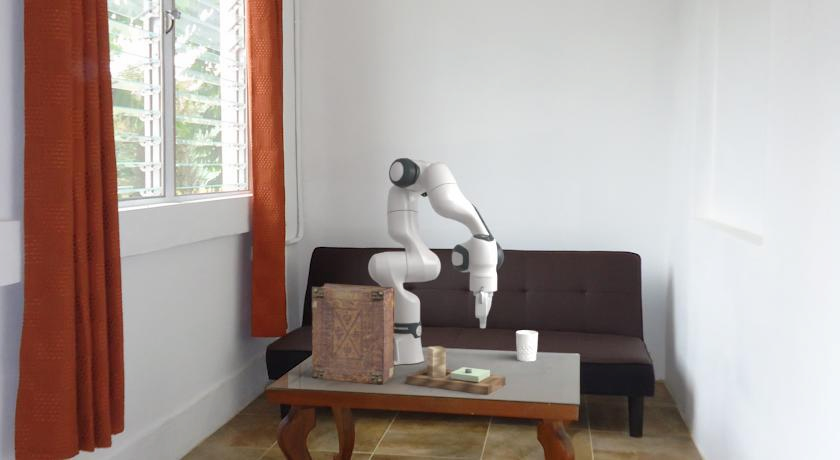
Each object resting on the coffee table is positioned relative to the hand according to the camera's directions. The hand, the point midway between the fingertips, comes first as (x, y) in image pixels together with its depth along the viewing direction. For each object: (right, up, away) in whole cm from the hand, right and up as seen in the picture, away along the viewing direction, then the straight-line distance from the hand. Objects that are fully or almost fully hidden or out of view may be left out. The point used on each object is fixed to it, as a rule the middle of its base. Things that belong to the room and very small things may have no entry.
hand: (483, 327), depth 276 cm
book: (-42, -17, +3) cm, 46 cm away
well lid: (-4, -15, -7) cm, 17 cm away
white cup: (+18, -15, +31) cm, 39 cm away
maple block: (-15, -17, -2) cm, 23 cm away
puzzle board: (-9, -17, -5) cm, 20 cm away
